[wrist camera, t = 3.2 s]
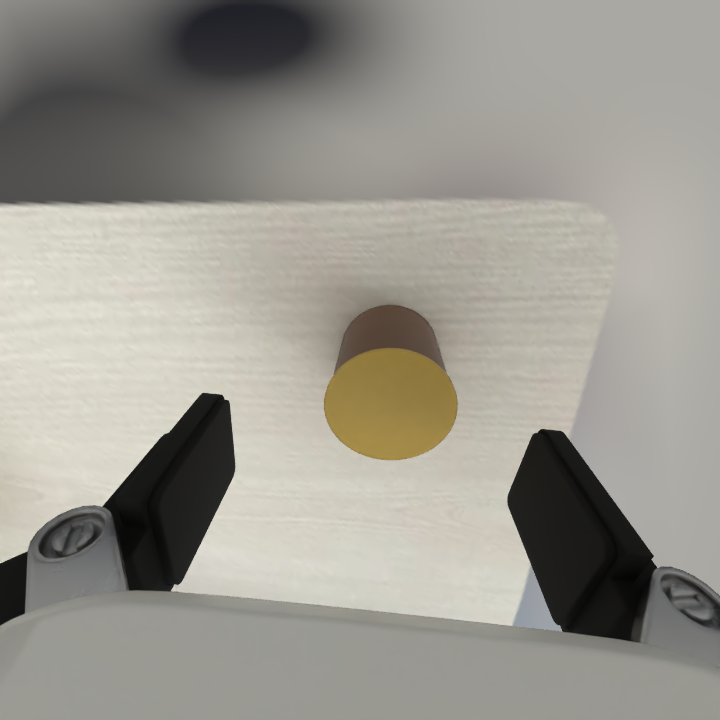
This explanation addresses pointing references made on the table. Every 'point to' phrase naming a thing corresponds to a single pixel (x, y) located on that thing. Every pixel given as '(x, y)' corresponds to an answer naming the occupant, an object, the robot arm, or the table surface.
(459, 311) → the table surface
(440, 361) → the cylinder
